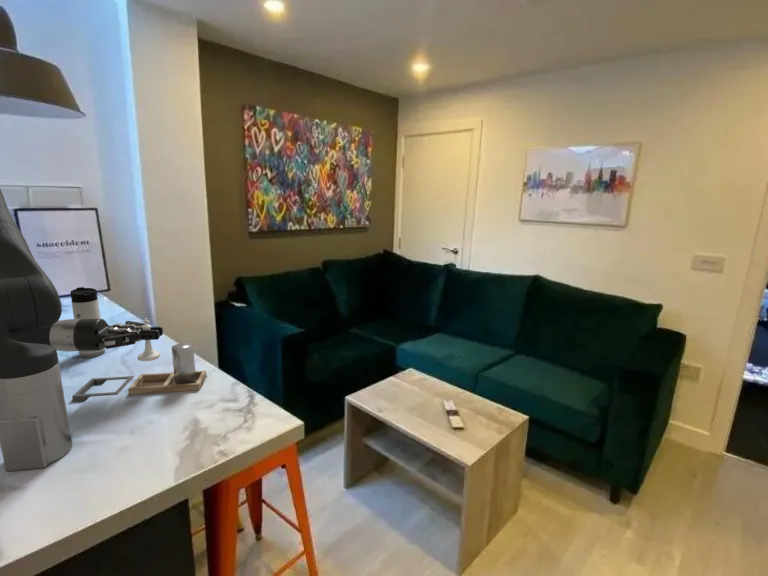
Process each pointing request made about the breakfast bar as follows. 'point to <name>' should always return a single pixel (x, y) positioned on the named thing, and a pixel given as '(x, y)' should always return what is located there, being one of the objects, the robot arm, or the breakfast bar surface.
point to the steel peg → (184, 363)
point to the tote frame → (80, 394)
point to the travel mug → (86, 311)
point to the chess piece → (148, 347)
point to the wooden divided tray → (164, 384)
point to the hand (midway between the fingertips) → (160, 332)
